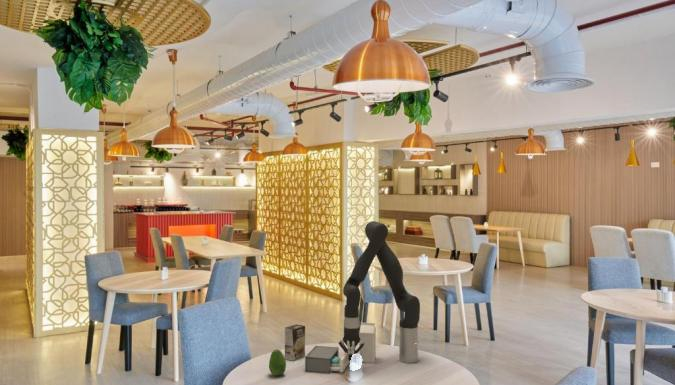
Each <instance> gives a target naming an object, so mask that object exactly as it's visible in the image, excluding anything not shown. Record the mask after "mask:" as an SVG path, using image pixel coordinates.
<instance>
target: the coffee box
mask: <svg viewBox="0 0 675 385" xmlns="http://www.w3.org/2000/svg"><path fill="white" fill-rule="evenodd" d="M305 357H306V326H305V325H303V324H294V325H293V324H292V325H290V326H286V327H284V359H285V360H286V361H287V360H288V361H292V362H295V361H297V360H300V359H303V358H305Z"/></svg>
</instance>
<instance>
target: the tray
mask: <svg viewBox="0 0 675 385" xmlns="http://www.w3.org/2000/svg"><path fill="white" fill-rule="evenodd" d="M350 363H351V362H350V361H349V360H348V353H345V352H344V354H343V356H342V357H341V358H340V357H339V364H330V370H331V372H332V371H333V372H340V373H344V371H345V370H346V368H347V366H348V365H349V364H350Z"/></svg>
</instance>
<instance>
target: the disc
mask: <svg viewBox="0 0 675 385" xmlns="http://www.w3.org/2000/svg"><path fill="white" fill-rule="evenodd" d="M339 358H340V356H339V357H337V356H333V357H332V358H331V360H330V364H339Z"/></svg>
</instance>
